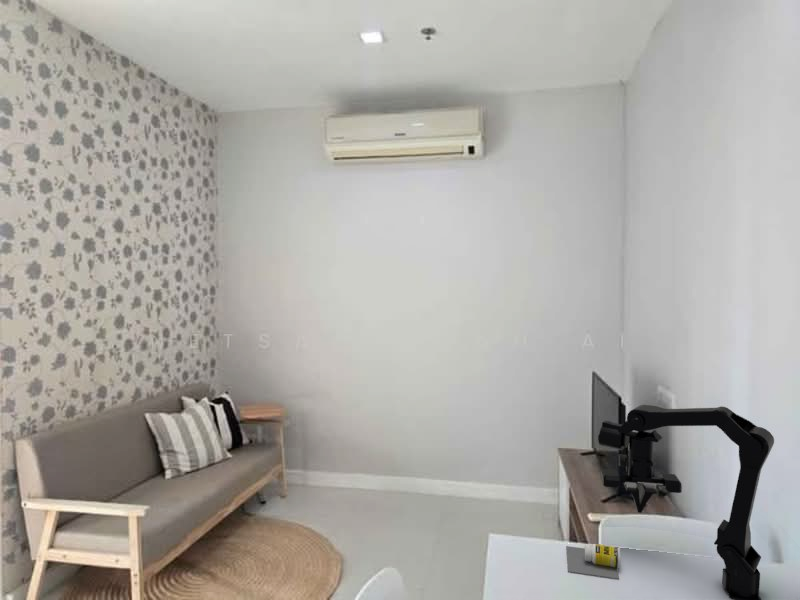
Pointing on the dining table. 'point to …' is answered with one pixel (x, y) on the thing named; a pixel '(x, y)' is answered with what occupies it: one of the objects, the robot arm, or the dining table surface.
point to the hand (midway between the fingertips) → (639, 511)
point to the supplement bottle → (603, 555)
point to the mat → (587, 565)
